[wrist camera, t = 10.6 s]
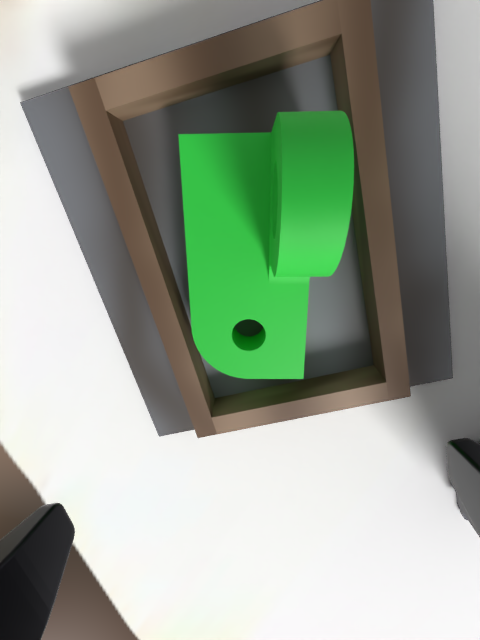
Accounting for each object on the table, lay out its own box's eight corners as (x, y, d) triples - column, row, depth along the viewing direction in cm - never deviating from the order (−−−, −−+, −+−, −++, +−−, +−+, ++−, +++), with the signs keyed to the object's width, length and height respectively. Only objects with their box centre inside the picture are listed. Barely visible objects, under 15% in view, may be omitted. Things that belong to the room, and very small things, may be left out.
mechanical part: (186, 141, 16) (131, 91, 9) (310, 139, 16) (363, 86, 8) (200, 361, 20) (170, 457, 13) (298, 362, 20) (327, 459, 13)
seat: (423, -28, 14) (460, -75, 12) (447, 373, 21) (473, 396, 18) (27, 105, 16) (-12, 89, 14) (161, 430, 23) (150, 458, 20)
